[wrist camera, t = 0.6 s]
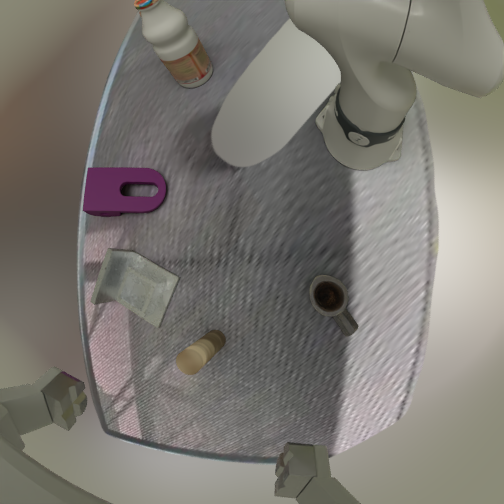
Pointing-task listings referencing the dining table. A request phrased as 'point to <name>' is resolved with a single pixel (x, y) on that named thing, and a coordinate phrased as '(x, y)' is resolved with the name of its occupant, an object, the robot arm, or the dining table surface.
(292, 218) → the dining table surface
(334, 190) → the dining table surface
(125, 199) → the mounting bracket
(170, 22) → the fruit juice
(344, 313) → the pipe
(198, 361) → the tan wooden cylinder
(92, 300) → the cup bracket
